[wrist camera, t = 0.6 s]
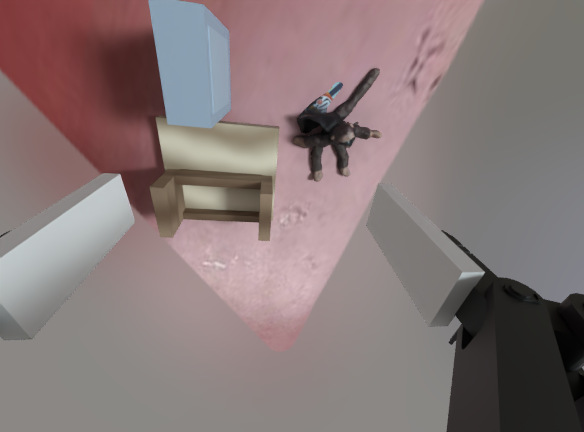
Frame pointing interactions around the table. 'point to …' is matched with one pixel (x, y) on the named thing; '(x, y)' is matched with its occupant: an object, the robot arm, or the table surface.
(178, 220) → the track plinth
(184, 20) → the light blue rectangular block
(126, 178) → the table surface
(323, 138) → the stuffed animal
